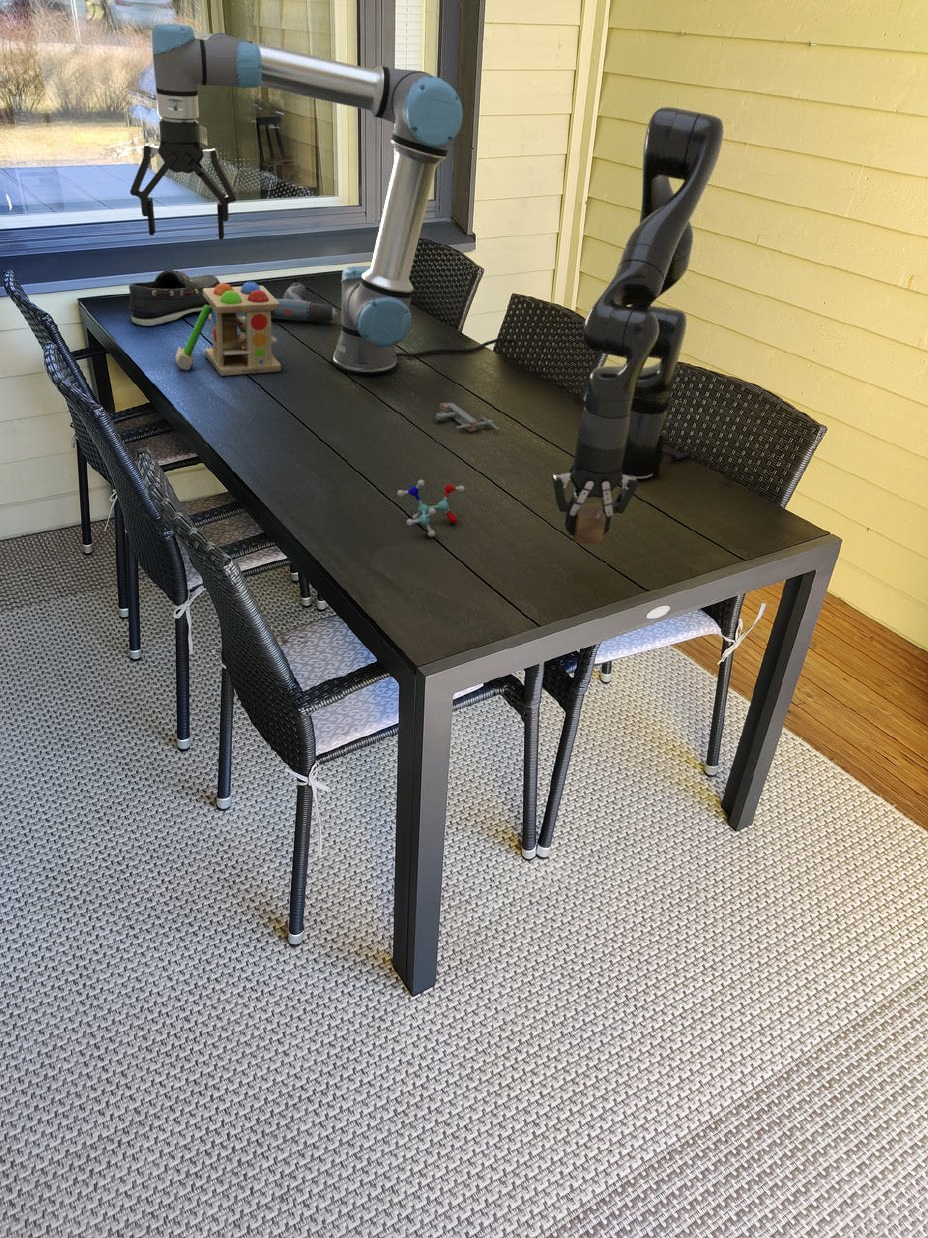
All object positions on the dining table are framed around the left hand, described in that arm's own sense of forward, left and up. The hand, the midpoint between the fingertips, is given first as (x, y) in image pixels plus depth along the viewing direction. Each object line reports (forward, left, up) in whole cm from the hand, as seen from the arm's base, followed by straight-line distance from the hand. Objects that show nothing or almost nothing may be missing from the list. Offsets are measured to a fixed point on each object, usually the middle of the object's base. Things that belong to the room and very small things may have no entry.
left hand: (187, 235), depth 198 cm
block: (-12, +102, -25) cm, 106 cm away
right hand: (-12, +102, -24) cm, 106 cm away
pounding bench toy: (-13, -10, -33) cm, 37 cm away
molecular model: (-2, +75, -33) cm, 82 cm away
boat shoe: (-24, -51, -33) cm, 66 cm away
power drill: (-52, -34, -33) cm, 70 cm away
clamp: (-38, +46, -33) cm, 68 cm away
